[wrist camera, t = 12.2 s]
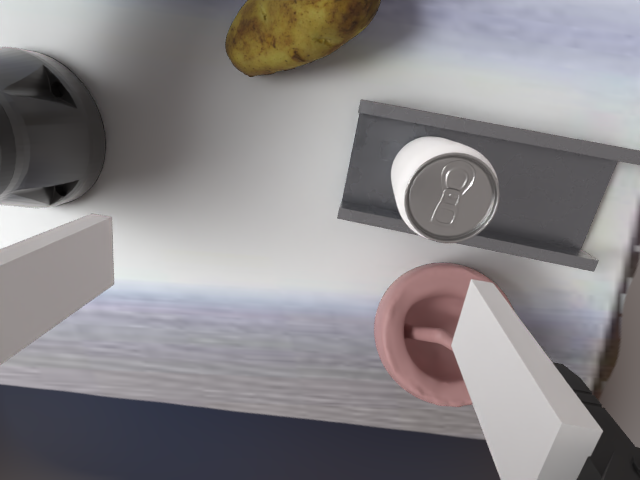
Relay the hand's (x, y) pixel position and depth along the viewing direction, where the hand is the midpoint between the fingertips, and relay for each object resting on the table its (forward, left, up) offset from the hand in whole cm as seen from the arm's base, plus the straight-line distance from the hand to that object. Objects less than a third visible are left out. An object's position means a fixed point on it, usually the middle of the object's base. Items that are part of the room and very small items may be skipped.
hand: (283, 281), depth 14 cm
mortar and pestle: (+12, -10, -25) cm, 29 cm away
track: (+12, +2, -25) cm, 27 cm away
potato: (-5, +13, -25) cm, 28 cm away
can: (+8, +2, -24) cm, 25 cm away
